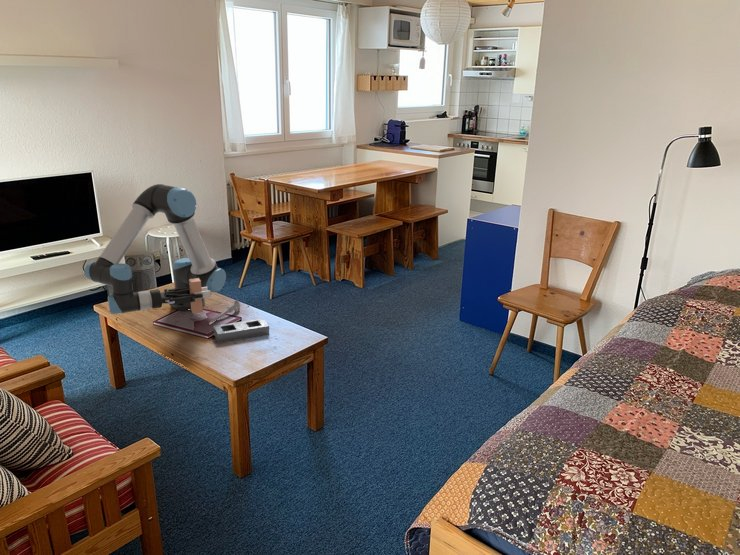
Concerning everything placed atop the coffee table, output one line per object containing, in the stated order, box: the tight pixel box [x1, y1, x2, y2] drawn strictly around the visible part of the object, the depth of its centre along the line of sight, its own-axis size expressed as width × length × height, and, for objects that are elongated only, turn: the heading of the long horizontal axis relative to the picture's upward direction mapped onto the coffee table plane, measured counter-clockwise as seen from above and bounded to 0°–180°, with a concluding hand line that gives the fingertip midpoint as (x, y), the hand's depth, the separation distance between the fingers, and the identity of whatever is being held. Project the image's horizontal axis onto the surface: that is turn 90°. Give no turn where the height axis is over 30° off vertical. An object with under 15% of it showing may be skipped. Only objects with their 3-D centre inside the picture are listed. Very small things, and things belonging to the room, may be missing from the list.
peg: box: [189, 278, 204, 314], centre depth 237 cm, size 4×4×14 cm
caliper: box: [209, 299, 241, 323], centre depth 261 cm, size 20×1×6 cm, turn 152°
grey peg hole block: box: [212, 318, 270, 344], centre depth 245 cm, size 9×22×4 cm, turn 118°
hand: (208, 291), depth 239 cm, fingers closed on peg, 4 cm apart
